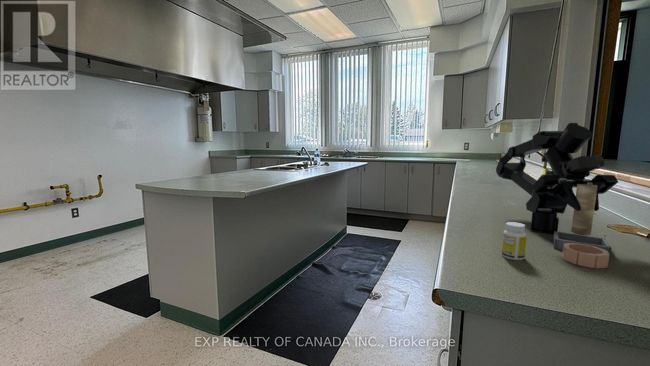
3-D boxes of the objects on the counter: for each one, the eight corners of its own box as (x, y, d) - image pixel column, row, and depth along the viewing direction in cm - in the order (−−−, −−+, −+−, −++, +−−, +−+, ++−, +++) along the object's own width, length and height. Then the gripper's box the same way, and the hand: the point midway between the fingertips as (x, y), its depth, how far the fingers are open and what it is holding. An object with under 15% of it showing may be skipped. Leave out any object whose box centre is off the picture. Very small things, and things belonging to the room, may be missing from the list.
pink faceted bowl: (563, 262, 70) (564, 250, 70) (561, 252, 76) (563, 241, 76) (609, 271, 65) (611, 258, 65) (603, 259, 72) (605, 247, 71)
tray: (554, 248, 79) (555, 239, 79) (553, 239, 86) (554, 230, 86) (610, 257, 73) (611, 247, 72) (604, 247, 80) (605, 238, 80)
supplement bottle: (521, 254, 75) (524, 222, 74) (527, 261, 70) (530, 227, 69) (499, 252, 76) (502, 220, 75) (504, 259, 72) (506, 225, 71)
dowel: (574, 234, 78) (580, 185, 76) (568, 229, 82) (574, 183, 80) (593, 236, 77) (600, 186, 75) (586, 231, 80) (593, 184, 78)
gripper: (544, 144, 80) (569, 192, 71) (617, 144, 79) (652, 193, 70) (523, 170, 89) (544, 215, 80) (589, 170, 88) (617, 216, 79)
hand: (588, 210), depth 77 cm, fingers closed on dowel, 4 cm apart
